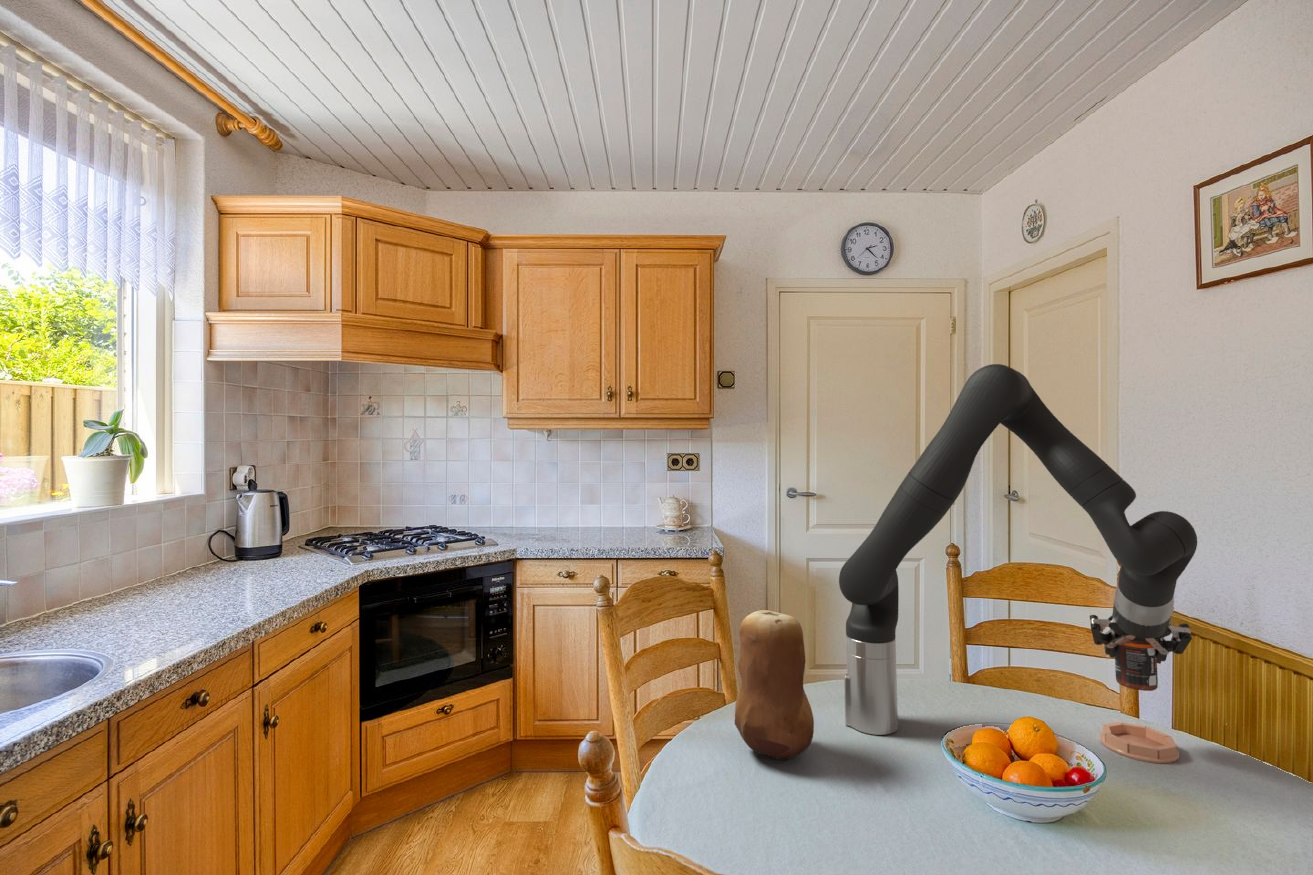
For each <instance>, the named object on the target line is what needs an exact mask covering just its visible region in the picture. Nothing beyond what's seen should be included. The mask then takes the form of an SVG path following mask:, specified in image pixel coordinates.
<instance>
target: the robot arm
mask: <svg viewBox="0 0 1313 875" xmlns="http://www.w3.org/2000/svg"><path fill="white" fill-rule="evenodd" d="M943 422H944V423H943V424H942V426H941V427H940V429H939V430H938V432H937V433H936V434H935V436H934V437H933V438H932V439H931V441H930V442H929V443H928V445H927V446H926V447H925V449H924V450H923V452H922V453H921V455H920V456H919V457H918V459H916V460H917V461H916V462H915V463H914V465H913V466H912V467H911V468H910V470H909V472H908V473H907V474H906V476H904V479H903V480H902V482H901V483H900V484H899V485H898V488H897V489H896V490H895V493H894V495H893V496H892V498H891V499H890V501H889V502H888V504H887V505H886V507H885V509H884V510H883V512H882V514H881V516H880V517H879V519H878V521H877V522H876V524H875V526H874V527H873V529H872V530H871V532H870V533H869V535H868V536H867V537H866V539H865V540H864V541H863V542H862V543H861V545H860V546H858V548H857V549H856V550H855V551H854V552H853V554H851V556H850V557H849V558H848V559H847V560H846V562H844V563H843V565H842V567H841V569H840V571H839V576H838V585H839V590H840V592H841V594H842V595H843V597H844V598H845V599H846V600H847V601H848V602H850V603H851V608H850V612H849V615H848V617H847V619H846V621H845V640H846V641H845V642H846V645H845V646H846V648H845V650H846V674H845V675H844V679H843V681H844V713H845V714H844V715H845V716H844V717H845V722H844V723H845V726H847V727H851V728H853V729H855V730H857V731H859V732H861V733H864V734H870V735H874V736H875V735H876V736H877V735H879V736H883V735H885V736H887V735H890V734H894V733H895V732H897V731H898V729H899V722H898V721H899V713H898V711H899V710H898V679H897V677H898V676H897V643H896V641H897V639H896V632H897V631H896V630H897V626H898V621H899V602H900V600H899V599H900V598H899V596H900V594H899V591H900V590H899V589H900V588H899V575H898V572H897V569H898V568H899V565H900V564H901V563H902V561H903V559H904V558H905V557H906V556H907V554H908V553H909V552H910V551H911V550H912V549H913V548H914V547H915V546H916V545H917V544H918V543H919V542H921V541H922V540H923V539H924V538H925V537H926V536H927V535H928V534H929V533H930V532H931V531H932V530H933V529H934V528H935V527H936V526H937V525H938V523H939V522H941V520H943V518H944V516H945V515H946V514H947V512H948V511H949V510H950V509H951V507H952V506H953V504H954V503H955V502H956V500H958V497H959V496H960V494H961V493H962V490H963V489H964V487H965V486H966V483H967V480H968V478H969V475H970V473H971V470H972V468H973V465H974V463H975V459H976V458H977V455H978V453H979V451H980V450H981V449H982V446H983V445H984V444H985V442H986V441H987V440H988V439H989V438H990V436H991V435H992V433H993V432H994V431H995V429H997V427H998V426H999V425H1000V424H1001V425H1002V426H1004V427H1005V428H1006V429H1008V430H1009V431H1010V432H1011V433H1012V434H1014V435H1015V436H1016V437H1018V438H1019V439H1020V440H1021V441H1022V442H1023V443H1024V444H1025V445H1026V446H1027V447H1028V448H1029V449H1030V450H1031V451H1032V452H1033V453H1034V455H1035V456H1036V457H1037V458H1038V459H1039V460H1040V462H1041V463H1042V464H1043V466H1044V467H1045V468H1046V470H1047V471H1048V472H1049V474H1050V475H1051V476H1052V478H1054V480H1055V481H1056V483H1058V484H1059V486H1060V487H1061V488H1062V489H1063V490H1064V491H1065V492H1066V493H1067V494H1068V495H1069V496H1070V497H1071V498H1072V499H1073V500H1074V501H1075V503H1077V504H1078V505H1079V506H1080V507H1081V508H1082V509H1083V510H1084V511H1085V512H1086V513H1087V514H1088V515H1089V517H1090V518H1091V521H1093V522H1092V523H1094V525H1095V527H1096V528H1097V530H1098V531H1099V533H1100V535H1101V536H1102V538H1103V539H1104V542H1105V543H1106V546H1107V547H1108V549H1109V551H1110V552H1111V554H1112V555H1113V557H1114V559H1115V560H1116V561H1117V562H1118V564H1120V565H1121V566H1120V568H1119V575H1118V583H1117V585H1116V588H1115V589H1114V590H1115V591H1114V597H1113V598H1114V600H1113V605H1112V615H1110V616H1109V617H1108V618H1107V619H1106V618H1105V619H1104V618H1103V619H1102V618H1099V616H1098V615H1096V614H1090V615H1089V623H1090V630H1091V634H1092V639H1093V643H1094V644H1095V645H1097V646H1102V645H1104V646H1103V647H1104V653H1105V655H1108V656H1109V658H1113V659H1115V651H1116V646H1117V645H1123V644H1125V643H1126V642H1128V641H1140V642H1145V643H1150V644H1151V645H1152V646H1153V647H1154V649H1156V655H1157V664H1159V665H1161V664H1162V662H1165V661H1166V660H1167V657H1168V655H1169V653H1171V652H1173V654H1175V655H1182V654H1183V653H1184V652H1185V650H1186V649H1187V648H1188V647H1189V644H1190V643H1191V641H1192V639H1193V638H1192V633H1191V628H1190V625H1189V624H1188V623H1180V624H1179V625H1178V626H1175V625H1171V624H1170V623H1171V618H1172V614H1173V613H1174V610H1175V607H1174V604H1175V597H1174V596H1175V592H1176V591H1175V590H1176V587H1177V581H1178V580H1179V578H1180V576H1181V575H1183V572H1184V571H1185V570H1186V568H1187V567H1188V565H1189V564H1190V562H1191V560H1192V559H1193V558H1194V555H1195V553H1196V551H1197V547H1198V537H1197V532H1196V531H1195V528H1194V527H1193V525H1192V524H1191V522H1189V521H1188V519H1187V518H1185V517H1184V516H1182V515H1180V514H1178V513H1176V512H1173V511H1168V510H1167V511H1166V510H1160V511H1159V510H1158V511H1155V512H1152V513H1149V514H1147V515H1145V516H1144V517H1142V518H1141V519H1139V520H1137V521H1136V522H1134V523H1133V524H1130V523H1129V521H1128V519H1127V516H1126V513H1125V512H1126V511H1127V509H1128V508H1129V507H1130V506H1131V505H1132V504H1133V502H1134V501H1135V499H1136V498H1137V493H1136V490H1135V489H1134V488H1133V487H1132V486H1131V485H1130V484H1129V483H1128V482H1127V481H1126V480H1124V479H1123V478H1122V476H1120V474H1118V472H1116V471H1115V470H1114V469H1113V468H1112V467H1111V466H1110V465H1108V463H1107V462H1105V461H1104V460H1103V459H1102V458H1101V457H1100V456H1099V455H1098V454H1097V453H1096V452H1094V451H1093V450H1092V449H1090V448H1089V447H1088V446H1087V445H1086V444H1085V443H1084V442H1083V441H1082V440H1080V439H1079V438H1078V437H1077V436H1076V435H1075V434H1073V433H1072V432H1071V431H1070V430H1069V429H1068V428H1067V427H1066V426H1065V425H1064V424H1063V423H1062V422H1061V421H1060V420H1059V419H1058V418H1057V417H1056V415H1054V413H1052V411H1051V410H1050V409H1049V408H1048V407H1047V405H1046V404H1045V402H1043V400H1042V398H1040V396H1039V395H1038V393H1037V392H1036V391H1035V389H1034V388H1033V386H1032V385H1031V383H1030V382H1029V380H1028V378H1027V377H1026V376H1025V375H1024V374H1023V373H1021V372H1020V371H1018V370H1016V369H1014V368H1012V367H1011V366H1008V365H1005V364H1001V363H999V364H998V363H996V364H995V363H994V364H989V365H985V366H982V367H980V368H978V369H977V370H975V371H974V372H973V373H972V374H971V375H970V376H969V377H968V379H967V381H966V382H965V384H964V386H963V387H962V388H961V391H960V393H959V395H958V397H957V399H956V401H955V402H954V404H953V406H952V408H951V410H950V412H949V414H948V415H947V417H946V419H945V421H943ZM1106 628H1109V630H1108V631H1106V632H1104V631H1105V630H1106ZM1170 635H1172V636H1171V638H1170V640H1167V639H1166V638H1165V637H1168V636H1170Z"/></svg>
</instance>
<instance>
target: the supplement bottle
mask: <svg viewBox="0 0 1313 875" xmlns="http://www.w3.org/2000/svg"><path fill="white" fill-rule="evenodd" d="M1114 668H1115V669H1114V670H1115V671H1114V673H1115V680H1116V682H1117V684H1119V685H1121V686H1123V687H1124V688H1125V687H1126V688H1128V689H1130V690H1136V691H1143V692H1144V691H1146V692H1148V691H1149V692H1152V691H1155V690H1157V689H1158V688H1159V687H1158V686H1159V684H1158V683H1159V681H1158V680H1159V679H1158V663H1157V655H1156V649H1154V647H1153V646H1152V645H1151V644H1150V643H1145V642H1140V641H1128V642H1126V643H1125V644H1123V645H1117V646H1116V651H1115V658H1114Z"/></svg>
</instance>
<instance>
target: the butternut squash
mask: <svg viewBox="0 0 1313 875" xmlns="http://www.w3.org/2000/svg"><path fill="white" fill-rule="evenodd" d="M739 641H740V642H739V644H740V645H739V646H740V648H739V654H740V655H739V659H738V663H737V667H738V672H739V675H740V680H741V681H740V687H739V691H738V693H737V695H736V700H735V706H734V707H735V708H734V725H735V726H736V729H737V731H738V732H739V734H740V737H741V739H742V740H743V741H744V743H745V744H746V745H747V747H749V749H750V750H752V751H753V752H756V753H758V754H762V755H765V756H767V757H770V758H771V759H772V758H773V759H772V760H775V759H780V760H779V761H781V760H782V761H783V760H784V761H788V760H789V759H790V758H792V757H795V756H798V755H800V754H802V753H803V752H805V751H806V750H807V749H808V748H809V746H811V743H812V741H813V738H814V733H815V732H814V730H815V721H814V719H815V718H814V714H813V709H812V707H811V704H810V702H809V699H808V696H807V694H806V691H805V689H804V677H805V676H804V674H805V670H806V669H805V668H806V650H805V642H804V641H805V640H804V632H803V628H802V625H801V623H800V621H798V620H797V618H795V617H793V616H792V615H788V614H785V613H782V612H781V613H780V612H777V611H773V610H770V609H769V610H767V609H762V610H756V611H754V612H753V611H752V613H750V614H748V615H747V616H746V617H744V618H743V620H742V622H741V624H740V628H739Z"/></svg>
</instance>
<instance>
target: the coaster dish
mask: <svg viewBox="0 0 1313 875" xmlns="http://www.w3.org/2000/svg"><path fill="white" fill-rule="evenodd" d="M1101 730H1102V732H1101V733H1100V735H1099V737H1100V738H1099V739H1100V742H1101V744H1102V745H1103V746H1104V747H1105V748H1107V749H1108V750H1109V751H1111V752H1114V753H1116V754H1118V755H1121V756H1124V757H1126V758H1129V759H1133V760H1137V761H1141V762H1147V763H1151V764H1171V763H1175V762H1177V761H1179V759H1180V751H1179V750H1178V746H1177V743H1176V742H1175V740H1174V738H1173V736H1171V735H1169V734H1166V733H1165V732H1162V731H1159V730H1157V729H1155V728H1152V727H1150V726H1148V727H1147V725H1142V724H1141V725H1140V724H1134V723H1130V722H1123V721H1117V722H1116V721H1115V722H1110V723H1104V724H1102V727H1101Z"/></svg>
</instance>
